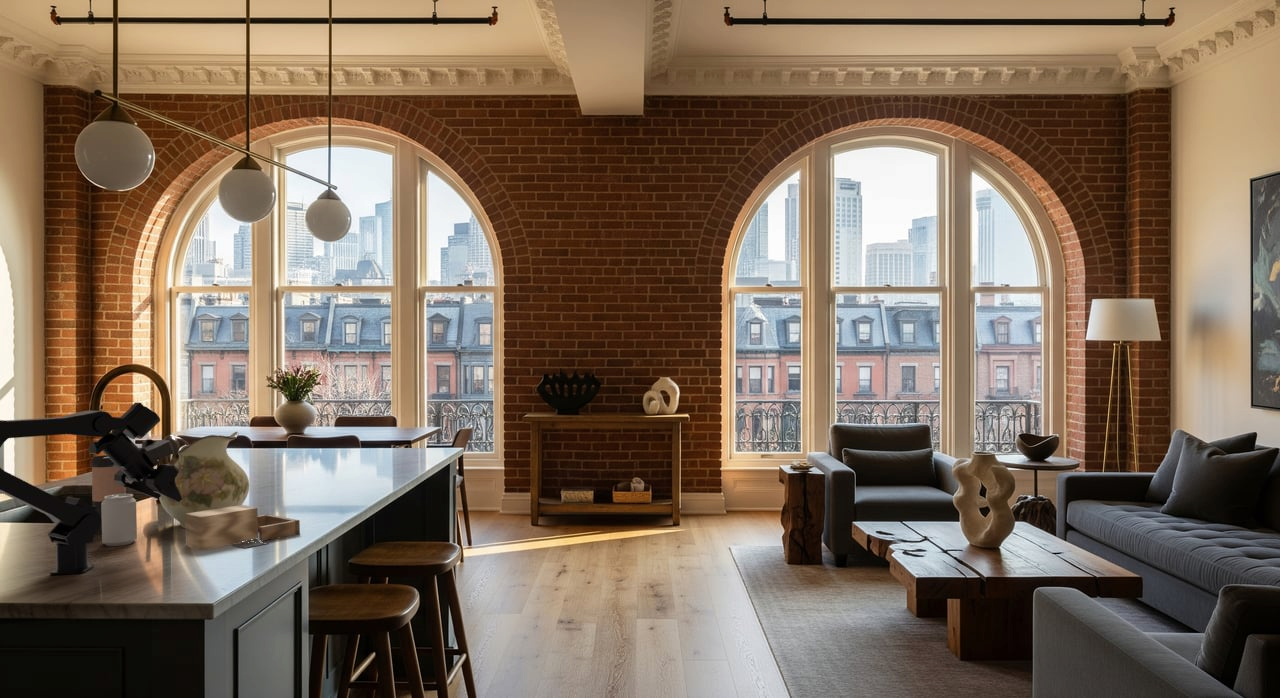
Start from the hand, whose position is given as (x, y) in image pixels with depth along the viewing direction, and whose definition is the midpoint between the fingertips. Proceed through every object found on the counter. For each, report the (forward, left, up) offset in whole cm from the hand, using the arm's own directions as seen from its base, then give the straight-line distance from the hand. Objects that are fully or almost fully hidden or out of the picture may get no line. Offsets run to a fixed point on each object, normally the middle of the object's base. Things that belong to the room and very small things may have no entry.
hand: (169, 498), depth 209 cm
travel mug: (+30, +23, -13) cm, 40 cm away
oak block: (+6, -10, -13) cm, 17 cm away
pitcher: (+33, +1, -13) cm, 35 cm away
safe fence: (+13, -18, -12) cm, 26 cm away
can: (+13, +15, -13) cm, 24 cm away
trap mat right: (+1, -17, -12) cm, 21 cm away
